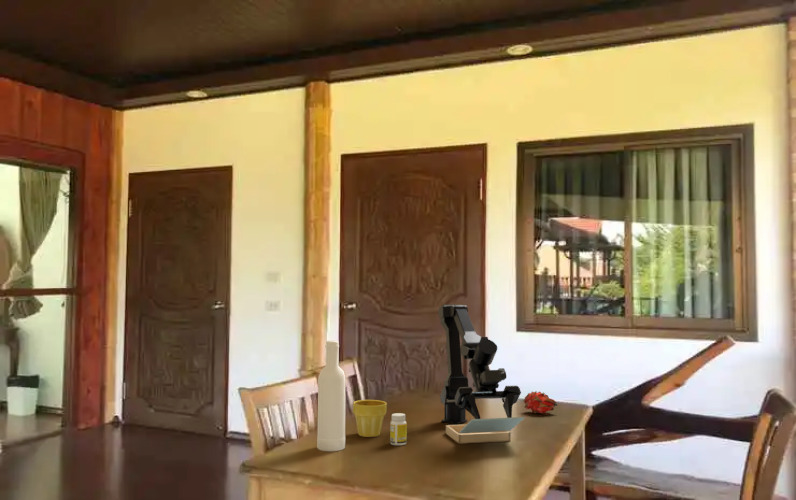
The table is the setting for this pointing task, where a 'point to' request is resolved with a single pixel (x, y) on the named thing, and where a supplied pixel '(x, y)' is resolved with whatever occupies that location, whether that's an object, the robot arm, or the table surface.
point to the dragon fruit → (539, 402)
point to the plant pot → (369, 416)
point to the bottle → (331, 402)
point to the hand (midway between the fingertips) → (495, 420)
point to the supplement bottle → (398, 429)
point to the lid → (491, 425)
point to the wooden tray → (475, 435)
